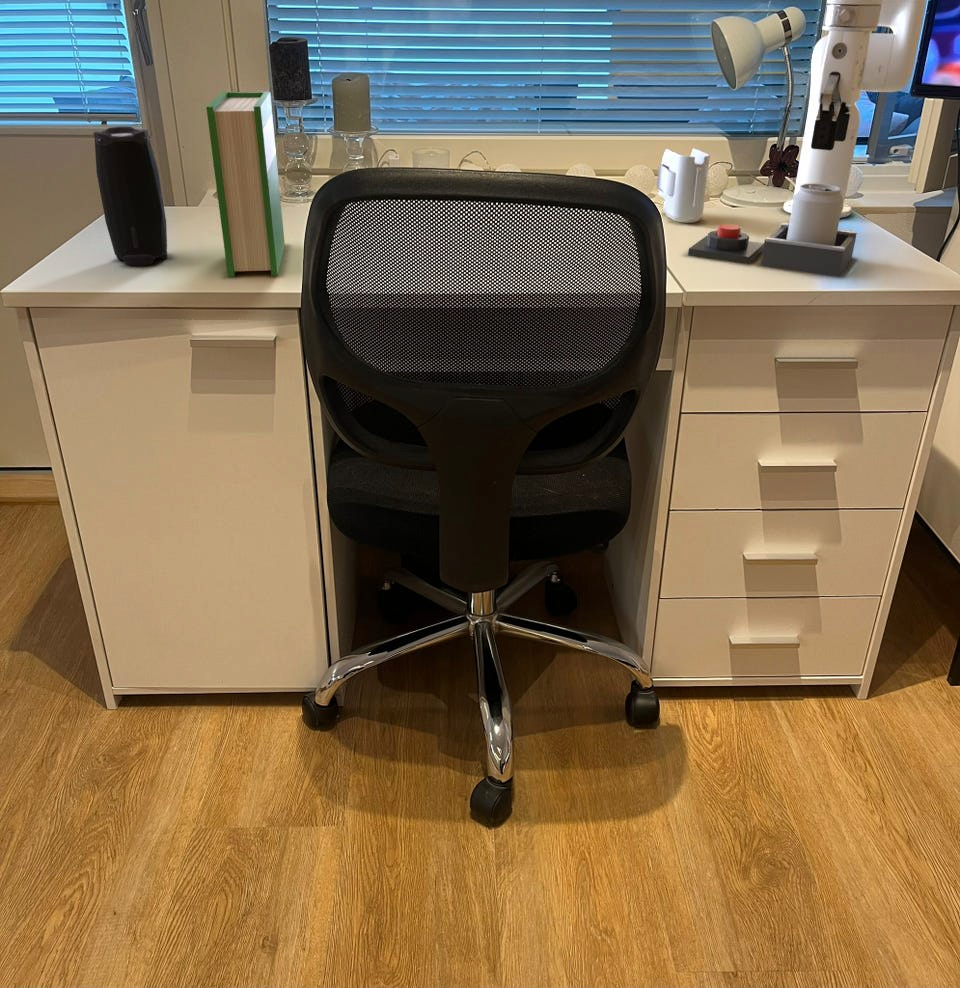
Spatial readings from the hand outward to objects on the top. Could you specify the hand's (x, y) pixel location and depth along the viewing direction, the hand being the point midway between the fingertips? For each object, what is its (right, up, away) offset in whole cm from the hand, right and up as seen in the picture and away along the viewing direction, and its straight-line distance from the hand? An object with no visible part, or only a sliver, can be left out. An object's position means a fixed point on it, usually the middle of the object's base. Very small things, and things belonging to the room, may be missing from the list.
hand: (828, 144), depth 142 cm
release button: (-12, -11, +12) cm, 20 cm away
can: (0, -16, +9) cm, 18 cm away
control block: (-12, -13, +14) cm, 22 cm away
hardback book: (-89, -16, +7) cm, 90 cm away
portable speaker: (-107, -16, +7) cm, 109 cm away
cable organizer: (-15, -1, +36) cm, 39 cm away
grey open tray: (0, -16, +9) cm, 18 cm away
